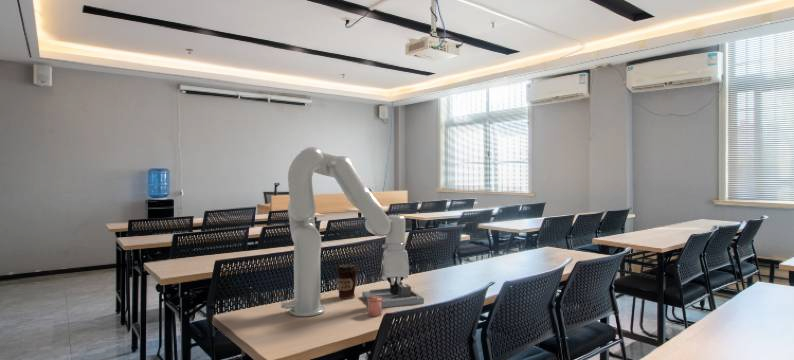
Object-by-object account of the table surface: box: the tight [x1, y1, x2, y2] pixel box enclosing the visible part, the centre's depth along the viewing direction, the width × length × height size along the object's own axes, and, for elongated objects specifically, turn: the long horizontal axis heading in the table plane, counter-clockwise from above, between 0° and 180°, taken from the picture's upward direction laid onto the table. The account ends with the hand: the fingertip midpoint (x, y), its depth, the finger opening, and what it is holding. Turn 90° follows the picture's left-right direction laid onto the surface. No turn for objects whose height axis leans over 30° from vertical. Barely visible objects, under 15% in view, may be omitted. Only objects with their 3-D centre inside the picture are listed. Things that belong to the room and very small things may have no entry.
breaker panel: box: [361, 280, 425, 309], centre depth 178 cm, size 20×17×6 cm
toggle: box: [398, 283, 412, 298], centre depth 176 cm, size 4×4×4 cm
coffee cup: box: [336, 264, 358, 300], centre depth 182 cm, size 9×8×13 cm
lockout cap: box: [367, 296, 382, 318], centre depth 160 cm, size 5×5×6 cm
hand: (394, 293), depth 174 cm, fingers closed
